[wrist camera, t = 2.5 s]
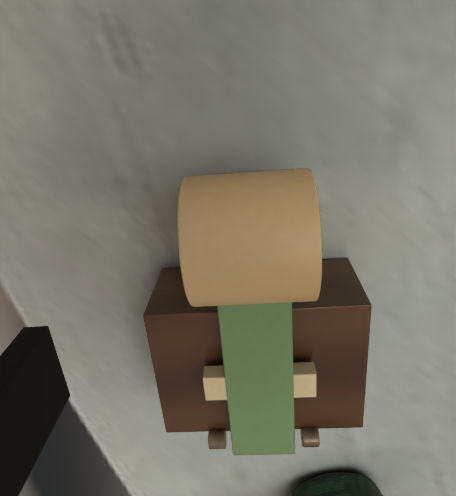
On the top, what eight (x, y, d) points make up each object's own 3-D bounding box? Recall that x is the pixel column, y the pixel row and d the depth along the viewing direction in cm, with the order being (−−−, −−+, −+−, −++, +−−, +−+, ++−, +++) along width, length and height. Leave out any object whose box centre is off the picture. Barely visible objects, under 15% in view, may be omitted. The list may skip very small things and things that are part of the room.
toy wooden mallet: (186, 163, 21) (165, 201, 15) (307, 154, 20) (329, 190, 15) (216, 409, 28) (209, 495, 22) (308, 406, 27) (323, 493, 22)
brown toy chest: (161, 267, 27) (138, 324, 22) (348, 257, 26) (376, 313, 21) (180, 380, 31) (165, 454, 26) (343, 375, 30) (365, 449, 25)
